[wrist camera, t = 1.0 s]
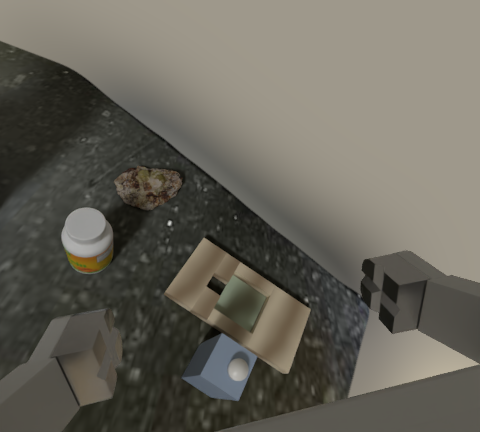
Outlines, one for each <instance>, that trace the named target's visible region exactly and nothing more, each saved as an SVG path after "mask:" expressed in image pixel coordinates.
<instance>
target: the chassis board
mask: <svg viewBox="0 0 480 432" xmlns="http://www.w3.org/2000/svg"><path fill="white" fill-rule="evenodd" d="M212 276H214V277H215V278H217V279H218V280H220V281H221V282H223V283H224V284H227V285H226V287H225V288H224V290H223V292H222V293H221V295H218V294H217V293H215V292H214V291H213V290H211V289H210V288H208V287H207V284H208V282H209V281H210V279H211V278H212ZM241 280H242V281H241ZM244 282H245V283H244ZM164 295H166V296H167V297H169V298H170V299H172V300H173V301H175V302H176V303H178V304H179V305H181V306H182V307H184V308H185V309H187V310H188V311H190V312H191V313H193V314H194V315H196V316H197V317H199V318H200V319H202V320H203V321H205V322H206V323H208V324H209V325H211V326H212V327H214V328H215V329H217V330H218V331H220V332H221V333H223V334H225V335H226V336H228V337H229V338H231V339H232V340H234V341H235V342H237V343H238V344H240V345H241V346H243V347H244V348H246V349H247V350H249V351H250V352H252V353H253V354H255V355H256V356H257V357H259V358H260V359H262V360H263V361H265V362H266V363H268V364H269V365H271V366H272V367H274V368H275V369H277V370H278V371H280V372H281V373H283V374H287V373H289V370H290V367H291V365H292V362H293V359H294V356H295V353H296V350H297V348H298V345H299V342H300V339H301V336H302V333H303V330H304V328H305V325H306V322H307V319H308V316H309V313H310V311H311V309H309V308H308V307H306V306H305V305H303V304H302V303H300V302H299V301H297V300H296V299H294V298H293V297H291V296H290V295H289V294H287V293H286V292H284V291H283V290H281V289H280V288H278V287H277V286H275V285H274V284H272V283H271V282H269V281H268V280H266V279H265V278H263V277H262V276H260V275H259V274H257V273H256V272H254V271H253V270H251V269H250V268H248V267H247V266H245V265H244V264H243V263H241V262H240V261H238V260H237V259H235V258H234V257H232V256H231V255H229V254H228V253H226V252H225V251H223V250H222V249H220V248H219V247H217V246H216V245H214V244H213V243H211V242H210V241H208V240H207V239H205V238H203V240H202V241H201V242H200V244H199V245H198V247H197V248H196V249H195V251H194V252H193V254H192V255H191V256H190V258H189V259H188V261H187V262H186V263H185V265H184V266H183V268H182V269H181V270H180V272H179V273H178V275H177V276H176V277H175V279H174V280H173V282H172V283H171V285H170V286H169V287H168V289H167V290H166V292H165V293H164ZM265 299H266V300H265ZM264 301H265V302H264ZM263 303H264V304H263ZM262 305H263V306H262ZM259 312H260V313H259ZM258 314H259V315H258ZM257 316H258V317H257ZM256 318H257V319H256ZM255 320H256V321H255ZM252 327H253V328H252ZM251 329H252V330H251ZM250 331H251V332H250Z"/></svg>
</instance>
